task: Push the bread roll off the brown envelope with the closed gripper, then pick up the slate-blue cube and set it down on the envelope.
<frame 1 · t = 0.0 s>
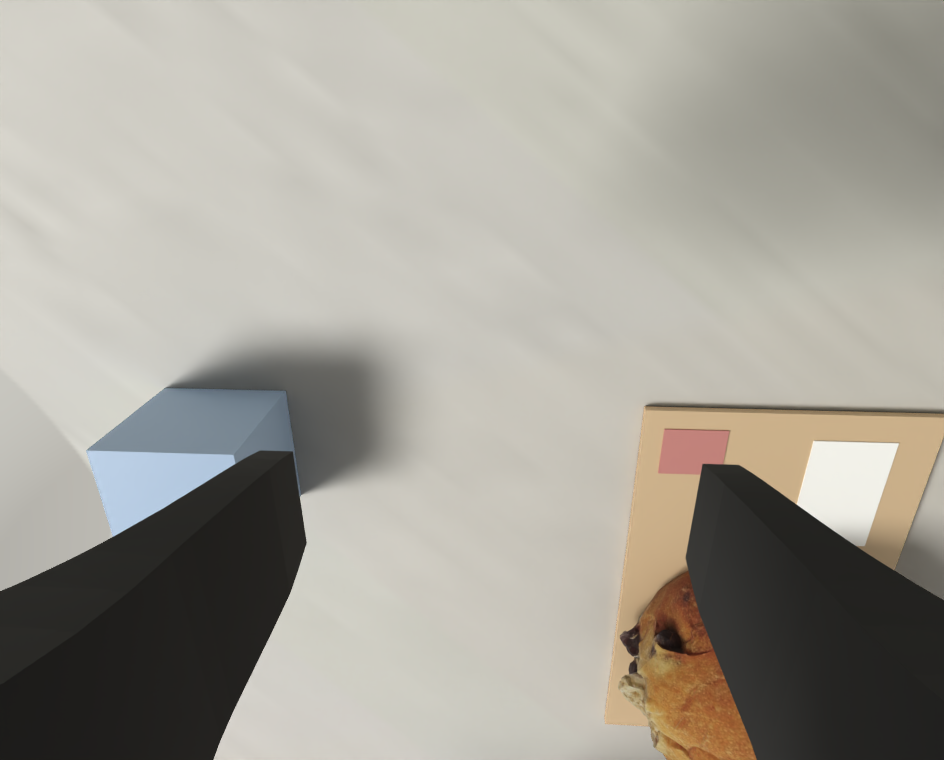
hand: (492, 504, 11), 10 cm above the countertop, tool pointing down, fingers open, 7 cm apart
blue cube: (236, 442, 23), on the countertop
envelope: (748, 588, 24), on the countertop
bread roll: (738, 636, 25), resting on envelope
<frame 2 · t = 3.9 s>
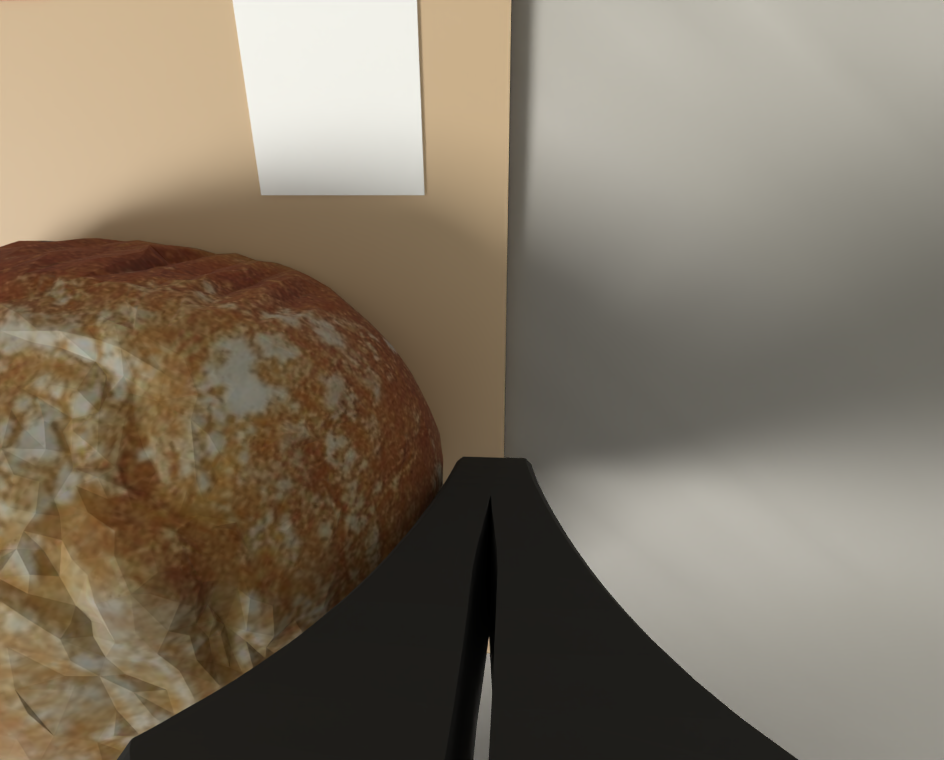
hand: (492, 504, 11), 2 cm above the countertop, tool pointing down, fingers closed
envelope: (248, 331, 12), on the countertop
bread roll: (200, 450, 13), resting on envelope, touching gripper
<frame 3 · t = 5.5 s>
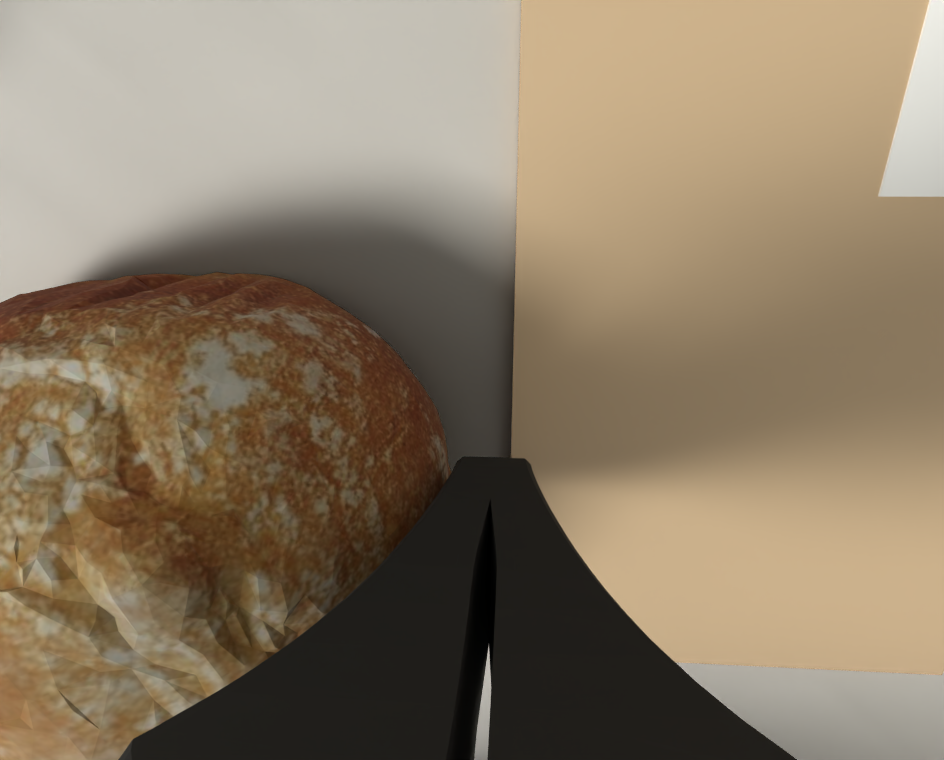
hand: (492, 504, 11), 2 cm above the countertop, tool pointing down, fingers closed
envelope: (785, 340, 11), on the countertop
bread roll: (224, 467, 13), on the countertop, touching gripper
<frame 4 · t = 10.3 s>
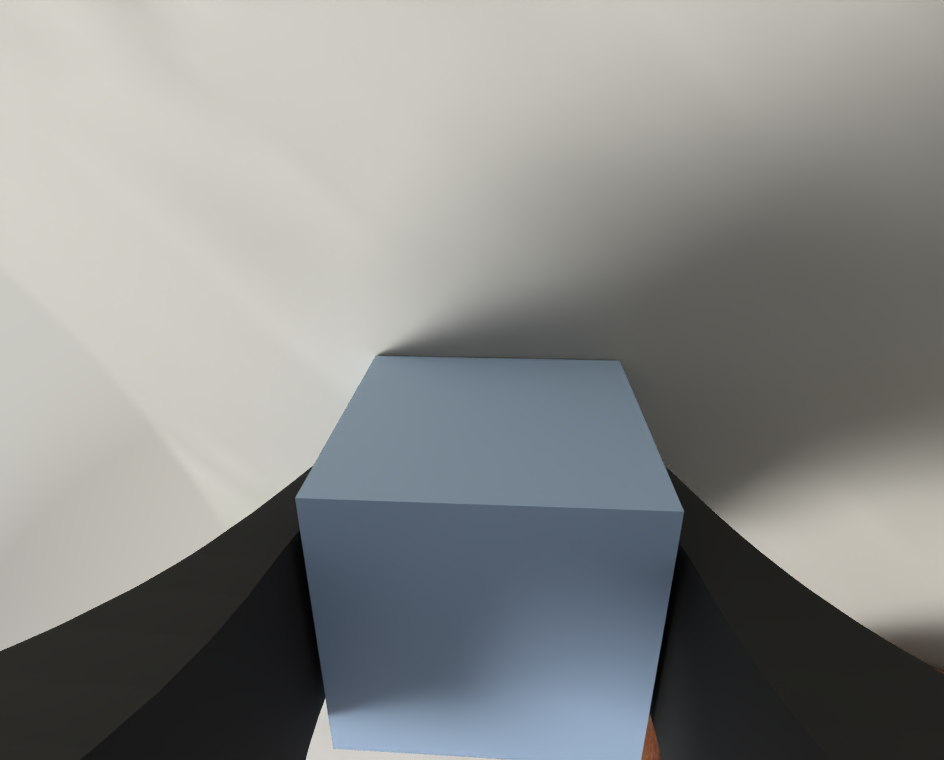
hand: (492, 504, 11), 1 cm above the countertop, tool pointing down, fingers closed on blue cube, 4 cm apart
blue cube: (494, 462, 12), on the countertop, touching gripper
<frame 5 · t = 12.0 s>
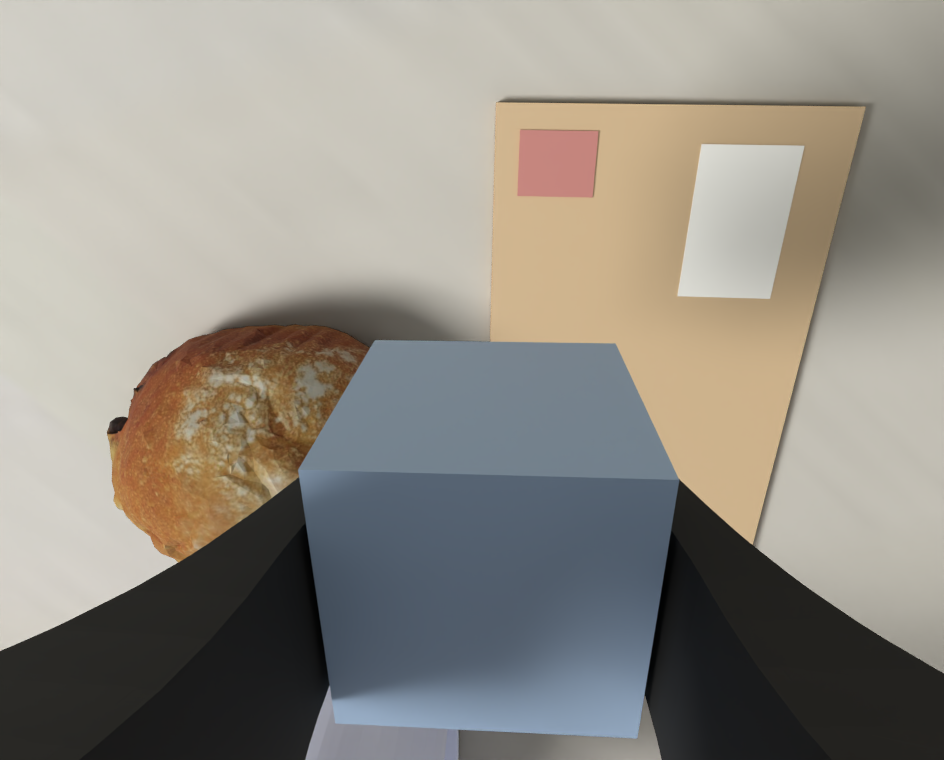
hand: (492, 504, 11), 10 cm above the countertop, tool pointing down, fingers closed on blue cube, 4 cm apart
blue cube: (492, 446, 12), point 8 cm above the countertop, touching gripper
envelope: (638, 367, 20), on the countertop
bread roll: (291, 434, 22), on the countertop
when the fingers open (3 cm above the countertop, at t = 13.9 s): blue cube drops 1 cm, resting on envelope.
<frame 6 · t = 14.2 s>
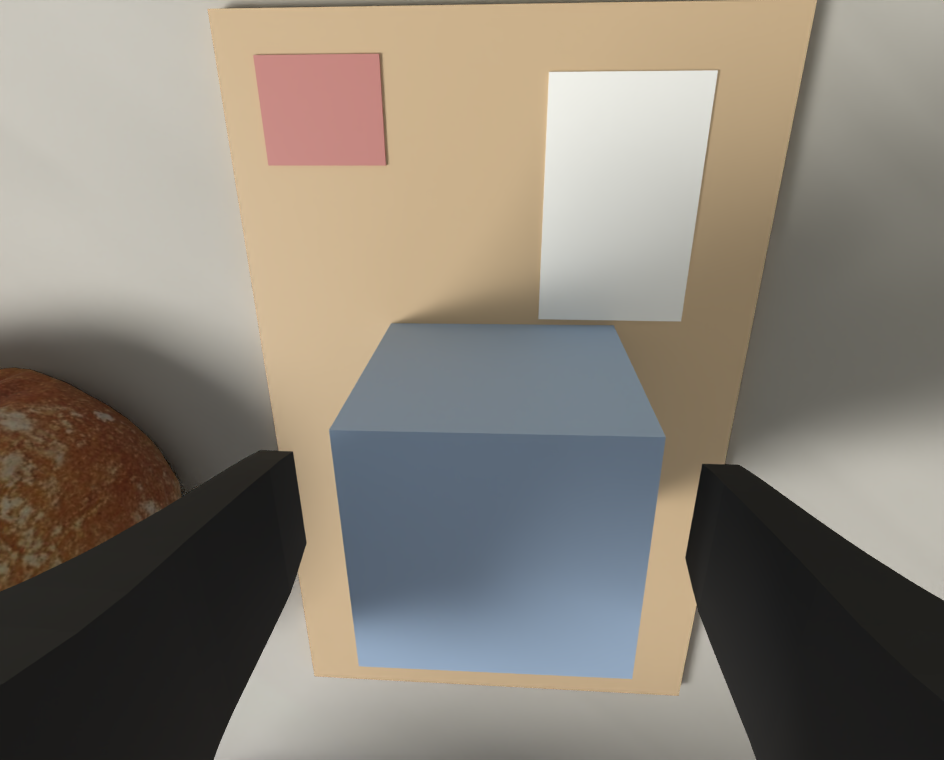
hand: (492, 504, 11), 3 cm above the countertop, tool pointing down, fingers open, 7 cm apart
blue cube: (500, 422, 13), resting on envelope
envelope: (497, 424, 13), on the countertop
bread roll: (26, 517, 16), on the countertop
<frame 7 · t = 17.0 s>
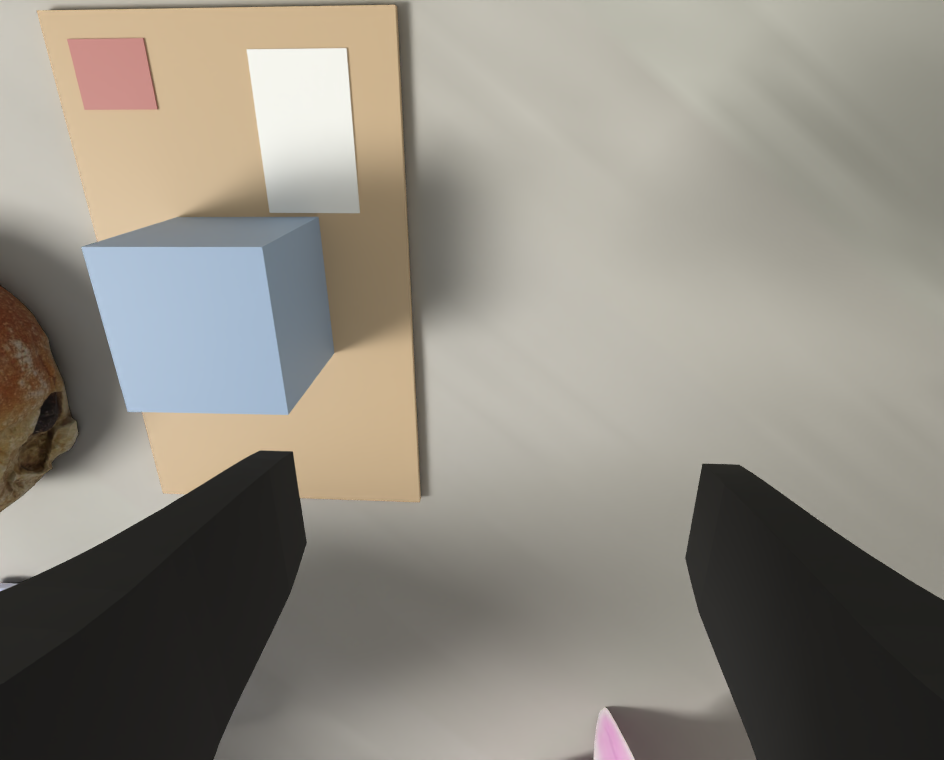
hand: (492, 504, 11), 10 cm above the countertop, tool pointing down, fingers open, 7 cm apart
blue cube: (258, 287, 19), resting on envelope
envelope: (261, 291, 20), on the countertop
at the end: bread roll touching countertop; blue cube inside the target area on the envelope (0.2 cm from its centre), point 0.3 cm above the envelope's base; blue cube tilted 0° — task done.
